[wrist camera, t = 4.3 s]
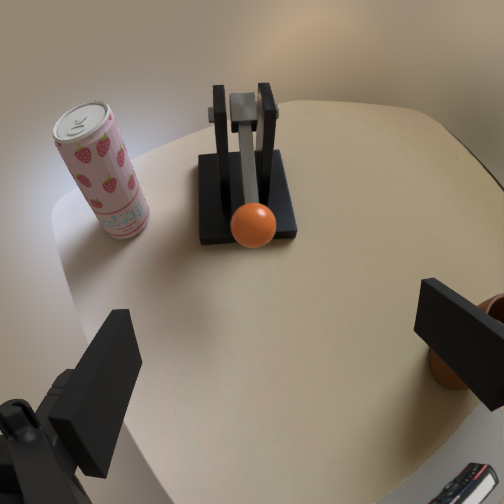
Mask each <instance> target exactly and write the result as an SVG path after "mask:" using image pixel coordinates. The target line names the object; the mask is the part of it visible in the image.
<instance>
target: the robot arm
mask: <svg viewBox="0 0 504 504" xmlns="http://www.w3.org/2000/svg"><path fill="white" fill-rule="evenodd" d="M414 331H415V332H416V333H417V334H418V335H419V336H420V337H421V338H422V339H423V340H424V341H425V342H426V343H427V345H428V346H429V347H430V348H431V349H432V350H433V351H434V352H435V353H436V354H437V355H438V356H439V357H440V358H441V359H442V360H443V361H444V362H445V363H446V364H447V365H448V366H449V367H450V368H451V369H452V370H453V371H454V372H455V374H456V375H457V376H458V377H459V378H460V379H461V380H462V381H463V382H464V383H465V384H466V385H467V386H468V387H469V388H470V390H471V391H472V392H473V393H474V394H475V395H476V396H477V397H478V398H479V399H480V400H481V402H482V403H483V404H484V405H485V406H486V407H487V408H488V409H489V410H490V412H493V411H494V410H496V409H498V408H500V407H502V406H504V324H503V323H501V322H500V321H498V320H496V319H494V318H492V317H491V316H490V315H488V314H487V313H485V312H484V311H483V310H481V309H480V308H478V307H477V306H475V305H474V304H473V303H471V302H470V301H468V300H467V299H465V298H464V297H462V296H461V295H459V294H458V293H456V292H455V291H453V290H452V289H450V288H449V287H447V286H446V285H444V284H443V283H441V282H440V281H438V280H437V279H435V278H429V279H422V280H421V288H420V295H419V302H418V308H417V314H416V320H415V326H414ZM141 365H142V359H141V355H140V352H139V348H138V344H137V341H136V337H135V333H134V329H133V325H132V321H131V317H130V312H129V309H116V310H112V311H111V313H110V314H109V316H108V317H107V319H106V320H105V322H104V323H103V325H102V326H101V328H100V329H99V331H98V332H97V334H96V335H95V337H94V339H93V340H92V342H91V343H90V345H89V346H88V348H87V350H86V351H85V353H84V354H83V356H82V358H81V359H80V361H79V363H78V364H77V366H76V368H75V369H66V370H65V371H64V372H63V373H61V374H60V375H59V376H58V377H57V378H56V380H55V381H54V383H53V384H52V388H50V389H49V391H48V393H47V395H46V396H45V397H44V399H43V401H42V402H41V404H40V406H39V407H38V409H37V411H36V412H35V413H34V411H33V410H32V408H31V406H30V405H29V403H28V402H27V401H25V400H23V399H13V400H9V401H7V402H5V403H3V404H2V405H0V431H1V432H2V433H3V435H0V504H92V502H91V501H90V499H89V497H88V495H87V494H86V492H85V490H84V489H83V487H82V485H81V483H80V482H79V480H78V478H77V477H76V476H75V471H76V469H77V466H79V468H80V469H81V471H82V472H83V473H84V475H85V476H91V477H98V478H104V479H106V477H107V474H108V470H109V467H110V462H111V459H112V456H113V453H114V449H115V446H116V442H117V439H118V435H119V432H120V429H121V426H122V423H123V419H124V416H125V413H126V410H127V407H128V404H129V401H130V398H131V395H132V392H133V389H134V386H135V383H136V380H137V377H138V374H139V371H140V368H141Z"/></svg>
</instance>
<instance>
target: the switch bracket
mask: <svg viewBox="0 0 504 504" xmlns="http://www.w3.org/2000/svg"><path fill="white" fill-rule="evenodd" d="M257 112H258V124H257V130H256V151H254V157H255V167H256V178H257V188H258V199H259V203H260V204H262V205H264V206H266V207H267V208H269V209H270V210H271V212H272V213H273V215H274V217H275V220H276V231H275V234H274V236H273V238H272V239H284V238H295V237H296V233H297V226H296V221H295V217H294V212H293V207H292V203H291V198H290V194H289V189H288V185H287V180H286V176H285V171H284V167H283V163H282V159H281V154H280V150H273V149H274V139H275V128H276V119H278V117H279V108H278V105H277V104H275V101H274V98H273V94H272V91H271V87H270V84H269V83H258V102H257ZM208 118H209V123H214V125H215V136H216V148H217V153H215V154H204V155H199V156H198V192H199V239H200V243H201V245H211V244H223V243H235V242H237V241H236V240H235V238H234V237H233V235H232V232H231V219H232V216H233V214H234V213H235V211H236V210H237V209H238V208H239V207H241V206H242V205H244V195H243V183H242V171H241V159H240V152H228V136H227V115H226V103H225V90H224V85H213V107H209V108H208ZM272 239H271V240H272Z"/></svg>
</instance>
